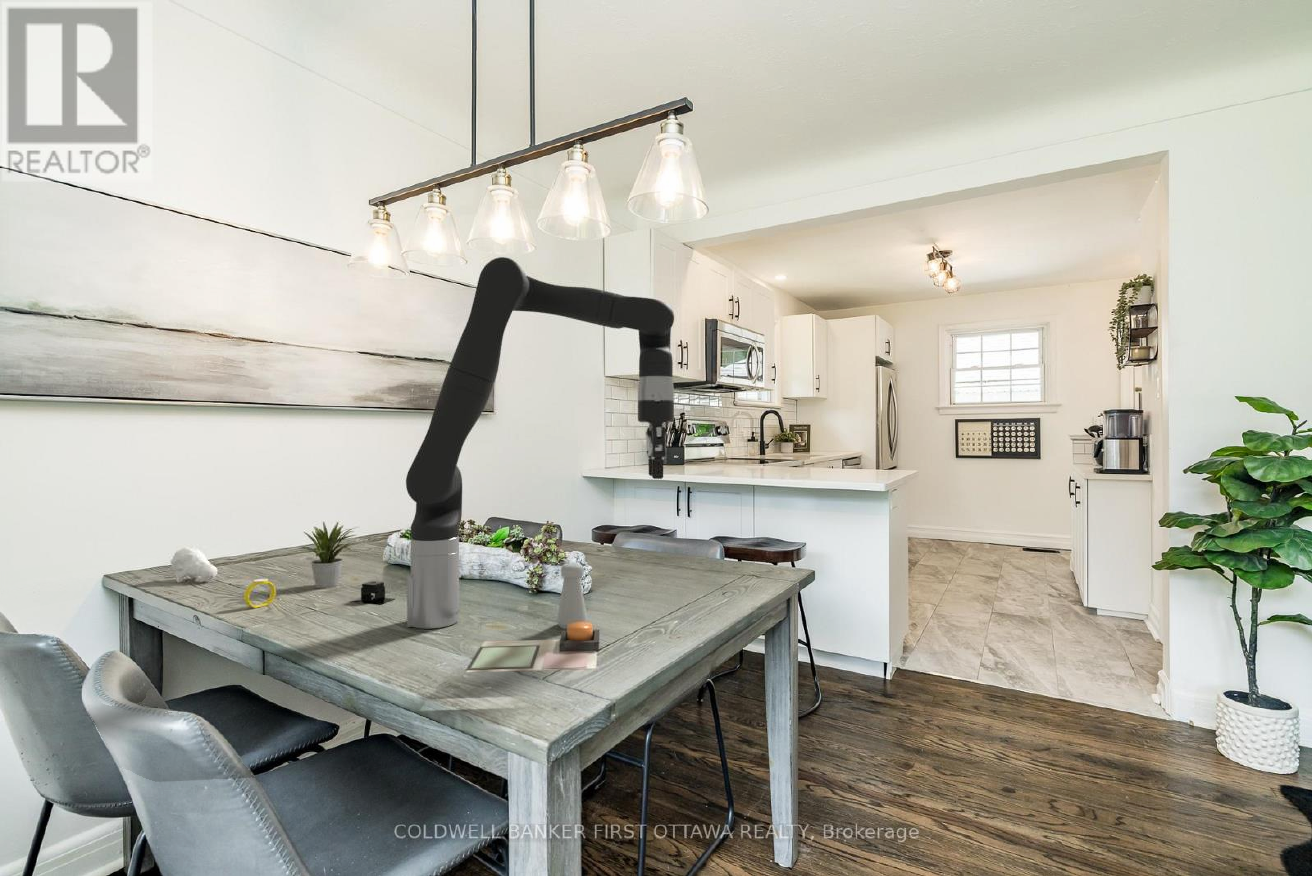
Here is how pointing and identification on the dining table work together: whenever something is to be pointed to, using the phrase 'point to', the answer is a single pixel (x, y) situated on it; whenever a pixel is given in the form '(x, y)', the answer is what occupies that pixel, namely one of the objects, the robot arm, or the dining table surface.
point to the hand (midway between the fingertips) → (655, 477)
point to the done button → (580, 631)
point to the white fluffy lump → (192, 565)
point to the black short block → (375, 589)
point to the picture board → (536, 655)
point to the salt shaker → (571, 596)
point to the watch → (255, 582)
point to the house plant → (327, 556)
